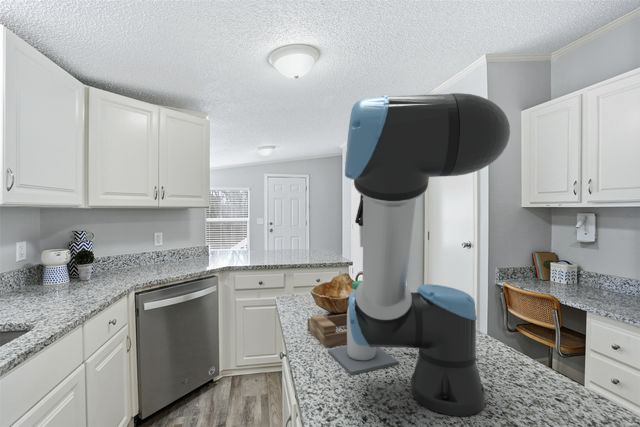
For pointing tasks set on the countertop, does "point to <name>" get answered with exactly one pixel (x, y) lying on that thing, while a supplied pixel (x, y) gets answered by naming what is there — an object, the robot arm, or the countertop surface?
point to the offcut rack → (328, 329)
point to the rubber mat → (362, 366)
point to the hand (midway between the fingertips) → (376, 249)
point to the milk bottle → (352, 348)
